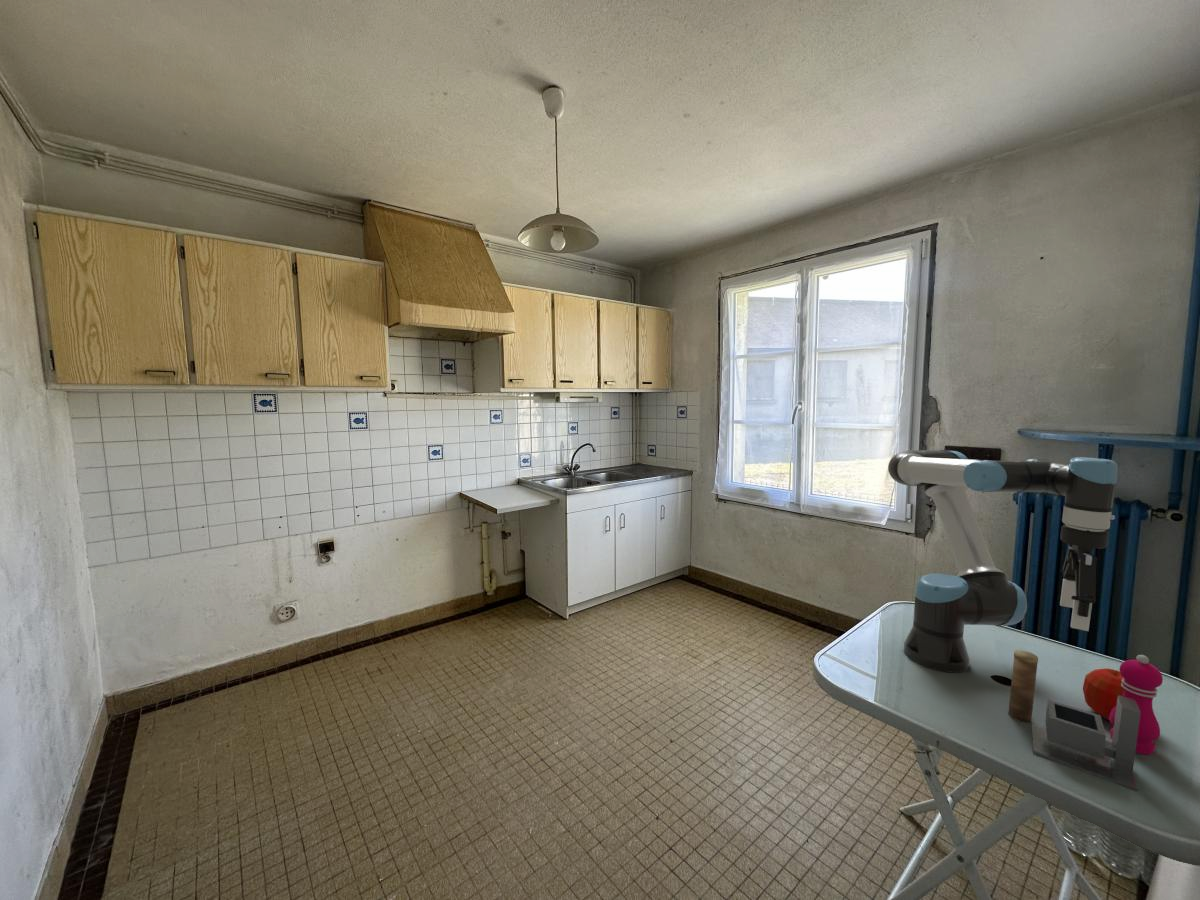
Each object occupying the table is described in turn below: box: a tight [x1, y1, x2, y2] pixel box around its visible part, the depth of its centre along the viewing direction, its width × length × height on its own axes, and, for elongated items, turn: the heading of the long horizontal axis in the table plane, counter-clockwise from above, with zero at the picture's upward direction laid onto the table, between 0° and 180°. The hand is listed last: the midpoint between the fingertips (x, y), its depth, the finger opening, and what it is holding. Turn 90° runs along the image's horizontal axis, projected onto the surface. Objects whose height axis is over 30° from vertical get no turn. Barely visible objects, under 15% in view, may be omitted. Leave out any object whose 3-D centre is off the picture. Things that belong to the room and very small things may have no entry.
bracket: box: [1031, 695, 1141, 791], centre depth 98 cm, size 14×11×14 cm
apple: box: [1082, 668, 1124, 721], centre depth 110 cm, size 10×10×12 cm
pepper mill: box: [1108, 654, 1164, 755], centre depth 101 cm, size 7×7×20 cm
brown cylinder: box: [1008, 649, 1039, 723], centre depth 110 cm, size 4×4×15 cm
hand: (1073, 617), depth 109 cm, fingers open, 13 cm apart
